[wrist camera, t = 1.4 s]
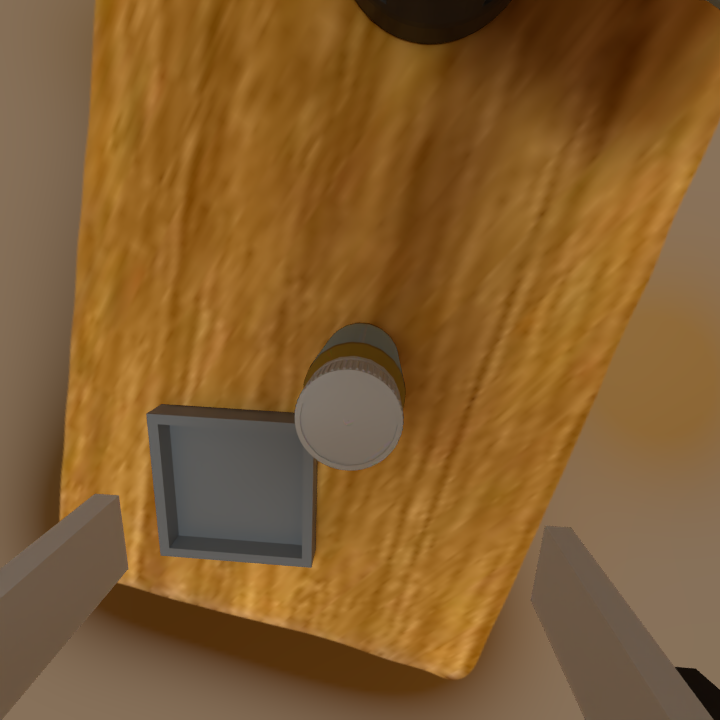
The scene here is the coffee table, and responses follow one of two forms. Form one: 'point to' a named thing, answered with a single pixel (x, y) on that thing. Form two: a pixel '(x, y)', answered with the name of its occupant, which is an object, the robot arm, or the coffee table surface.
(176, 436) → the tray
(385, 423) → the bottle
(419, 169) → the coffee table surface
